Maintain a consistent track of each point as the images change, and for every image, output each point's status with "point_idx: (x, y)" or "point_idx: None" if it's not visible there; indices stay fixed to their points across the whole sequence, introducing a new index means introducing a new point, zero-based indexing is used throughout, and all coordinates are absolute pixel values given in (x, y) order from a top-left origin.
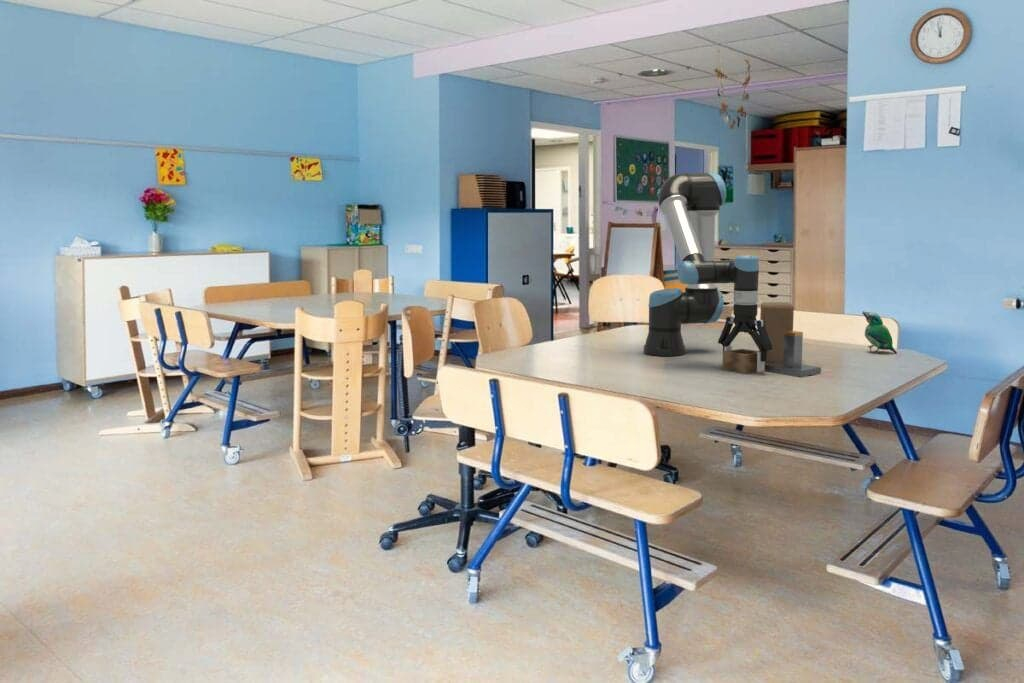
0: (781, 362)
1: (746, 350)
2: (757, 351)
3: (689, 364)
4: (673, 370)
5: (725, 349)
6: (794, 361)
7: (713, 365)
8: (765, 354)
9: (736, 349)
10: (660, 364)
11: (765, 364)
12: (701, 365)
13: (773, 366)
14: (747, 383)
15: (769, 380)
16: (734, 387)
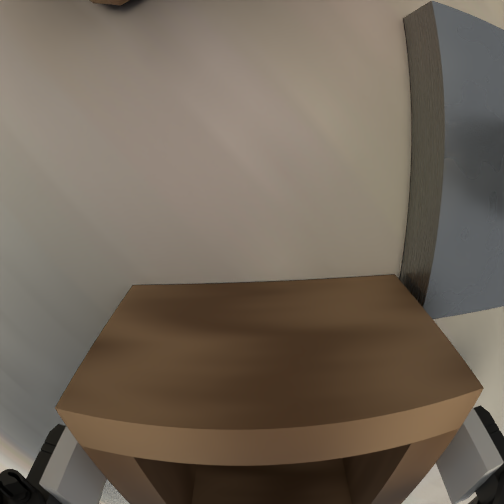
0: (465, 81)
1: (197, 461)
2: (379, 439)
3: (14, 413)
4: (118, 500)
5: (93, 502)
6: None
7: (47, 379)
8: (501, 452)
9: (103, 472)
10: (12, 449)
11: (424, 307)
12: (39, 408)
13: (492, 307)
14: (437, 475)
15: (490, 413)
16: (422, 501)
